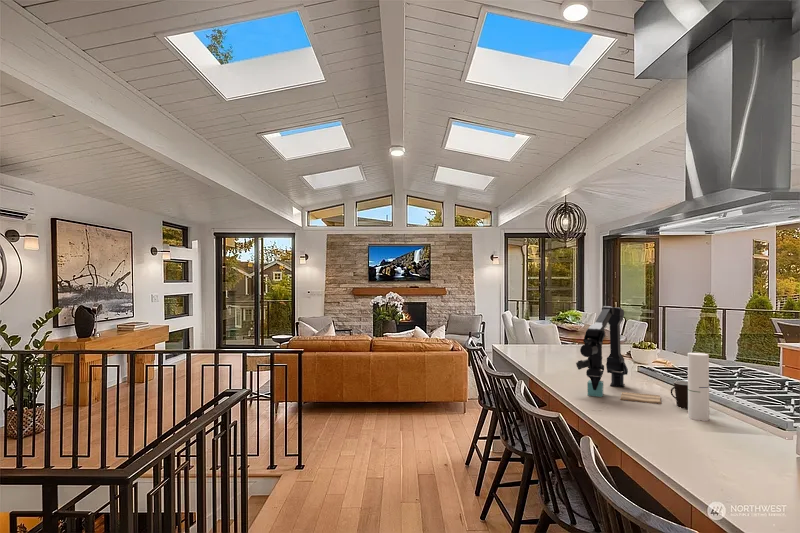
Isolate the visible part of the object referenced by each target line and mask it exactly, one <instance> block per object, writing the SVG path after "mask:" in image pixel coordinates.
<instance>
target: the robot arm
mask: <svg viewBox="0 0 800 533" xmlns="http://www.w3.org/2000/svg"><path fill="white" fill-rule="evenodd" d="M624 316H625V311H624V309H622V307H617V306H612V305H611V306H609V305H603V306H602V307H601V311H600V313H599V315H598V317H597V318H596V321H595V322H594V323H593V324H590V325H589V326H588V328H587V329H586V331H585V334H584V338H583V341H582V342H583V343H584V344H582V346H580V348H579V349H580V350H579V352H580V354H581V356H583V357H584V358H587V359H583V360H582V359H580V360H577V362H575V364H576V367H577V370H582V369H584V368H587V369H586V376H587V378H589V380H591V382H592V386H593V390H596V389H597V386H598V384H599V381H601V378H602V377H603V375H604V371H605V366H606V372H607V374H610V375H611V376H610V377H611V381H610V384H609V385H610V387H620V388H624V387H625V385H626V384H625V383H624V376H625V375H626V376H627V375H628V373H629V371H628V367H627V365H626V362H625V358H624V356H623V354H622V352H621V349H622V348H621V324H622V322H623V320H624ZM607 325H609V344H610V345H609V348H610V350H609V351H610V352H609V355H608V356H607V357H606V364H605V365H603V344H604V343H603V341H604V340H605V337H606V332H605V329H606V327H607Z"/></svg>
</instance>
